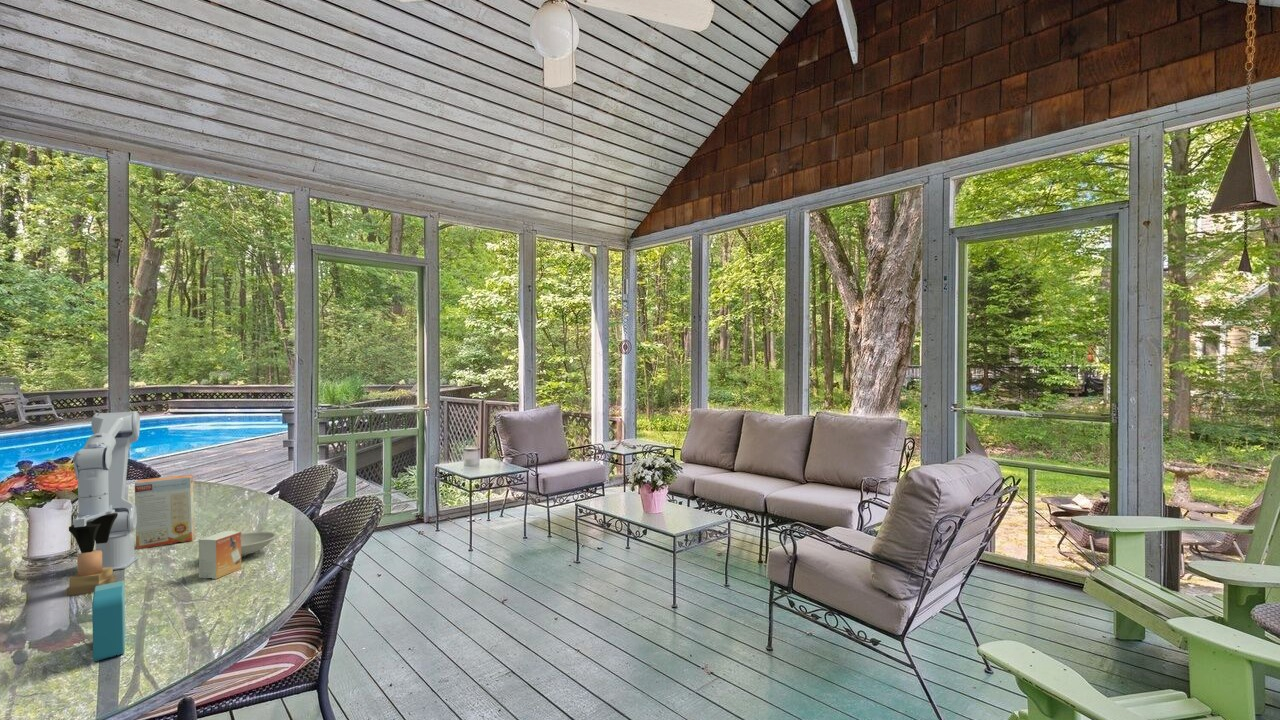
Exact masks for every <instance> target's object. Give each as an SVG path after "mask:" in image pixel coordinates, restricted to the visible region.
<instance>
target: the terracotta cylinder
mask: <svg viewBox="0 0 1280 720" xmlns="http://www.w3.org/2000/svg"><path fill="white" fill-rule="evenodd" d="M76 557H77V558H76V559H77V565H76V566H77V573H78V576H89V575H94V574H97V573H100V572H102V571H103V568H102V551H101V550H96V549H95V550H93V551H92V552H87V553H81V552H80V553H79V554H77V555H76Z"/></svg>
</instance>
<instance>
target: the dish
mask: <svg viewBox="0 0 1280 720" xmlns="http://www.w3.org/2000/svg"><path fill="white" fill-rule="evenodd" d="M277 537H278V533H277V532H273V531H252V532H244V533H241V558H243V556H244V557H246V556H247V555H250V554H254V553H255V552H259V551H261V550H262V549H264V548H265V547H267V546H268V545H270V543H271V542H272V541H273V540H274V539H276V538H277Z"/></svg>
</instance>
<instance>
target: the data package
mask: <svg viewBox="0 0 1280 720" xmlns="http://www.w3.org/2000/svg"><path fill="white" fill-rule="evenodd" d="M125 586H126V585H125V580H119V581H115V582H114V583H109V584H104V585H99V586H96V587H95V590H94V593H93V597H92V603H91V604H92V606H91V613H92V616H91V617H92V622H91V623H92V660H93V661H94V662H98V661H101V660H106V659H109V657H110V658H114V657H116V655H117V656H120V654H121V655H124V654H125V652H126V596H125V594H126V593H125Z"/></svg>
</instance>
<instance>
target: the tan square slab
mask: <svg viewBox="0 0 1280 720" xmlns="http://www.w3.org/2000/svg"><path fill="white" fill-rule="evenodd" d="M114 582H116V574H113V576H112V577H110V578H109V579H107V580H106V581H104V582H102V583H101V584H99V585H104V584H109V583H114ZM99 585H90V586H80V587H70V588H69V586H68V587H67V588H66V589H65V590H66V593H65V595H66V597H70V596H79V595H86V594H94V590H95V587H96V586H99Z"/></svg>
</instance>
